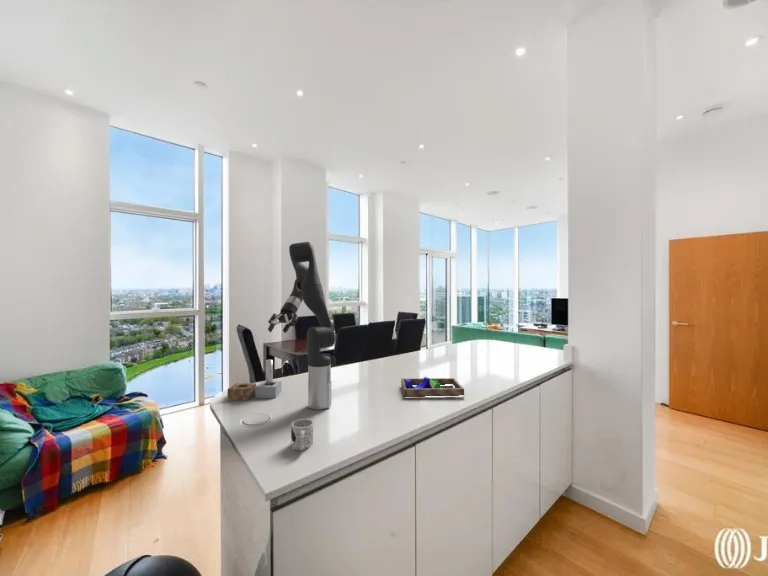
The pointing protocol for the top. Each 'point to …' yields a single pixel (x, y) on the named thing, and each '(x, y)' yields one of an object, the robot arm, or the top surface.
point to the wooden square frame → (241, 391)
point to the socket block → (268, 390)
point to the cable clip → (423, 385)
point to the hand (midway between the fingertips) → (276, 331)
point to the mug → (301, 434)
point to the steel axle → (269, 372)
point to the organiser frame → (432, 388)
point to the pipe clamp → (435, 384)
